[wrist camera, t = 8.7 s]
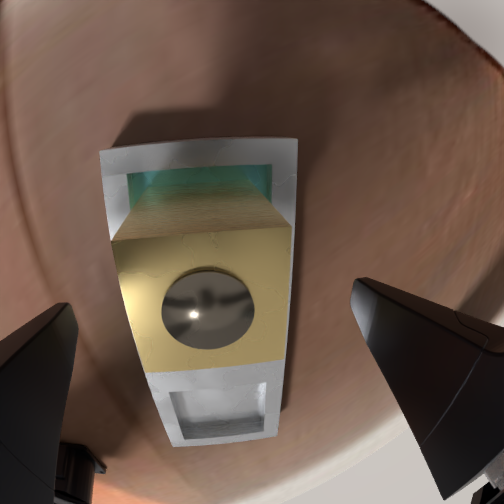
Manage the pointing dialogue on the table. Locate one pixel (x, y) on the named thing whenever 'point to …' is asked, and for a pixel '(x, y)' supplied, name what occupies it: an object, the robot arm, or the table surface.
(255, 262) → the block
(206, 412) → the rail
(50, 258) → the table surface
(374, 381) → the table surface
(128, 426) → the table surface
